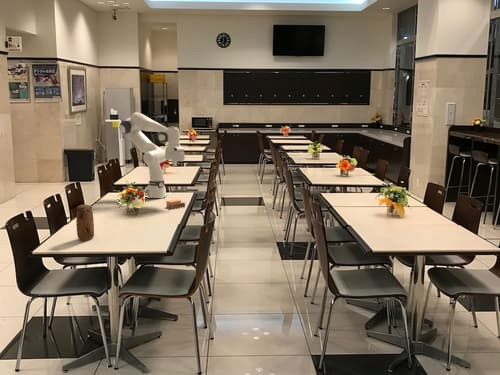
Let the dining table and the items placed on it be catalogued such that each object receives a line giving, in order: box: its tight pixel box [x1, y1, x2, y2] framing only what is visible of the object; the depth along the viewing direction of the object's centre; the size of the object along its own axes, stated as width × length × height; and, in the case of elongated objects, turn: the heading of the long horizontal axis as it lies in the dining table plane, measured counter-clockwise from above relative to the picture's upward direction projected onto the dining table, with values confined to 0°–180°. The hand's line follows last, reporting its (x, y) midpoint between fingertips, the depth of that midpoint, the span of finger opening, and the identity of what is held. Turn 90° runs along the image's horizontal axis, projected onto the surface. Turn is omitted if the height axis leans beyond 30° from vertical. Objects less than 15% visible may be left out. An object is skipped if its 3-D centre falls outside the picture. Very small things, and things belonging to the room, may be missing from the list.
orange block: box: [165, 198, 182, 209], centre depth 388 cm, size 6×9×5 cm, turn 137°
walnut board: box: [168, 202, 186, 210], centre depth 385 cm, size 2×13×3 cm, turn 135°
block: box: [75, 204, 95, 242], centre depth 300 cm, size 11×8×20 cm
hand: (174, 166), depth 397 cm, fingers closed
